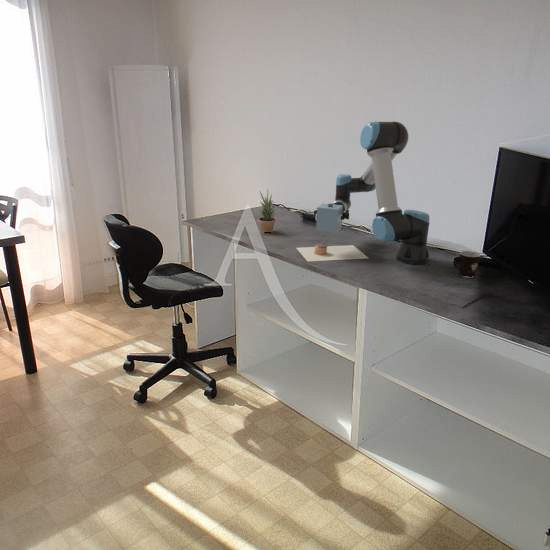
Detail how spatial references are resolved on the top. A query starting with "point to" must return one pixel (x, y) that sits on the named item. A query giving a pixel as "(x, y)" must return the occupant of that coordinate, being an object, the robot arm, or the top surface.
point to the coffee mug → (468, 263)
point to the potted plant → (267, 215)
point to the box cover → (328, 217)
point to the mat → (332, 253)
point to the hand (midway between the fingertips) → (327, 218)
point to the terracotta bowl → (320, 250)
